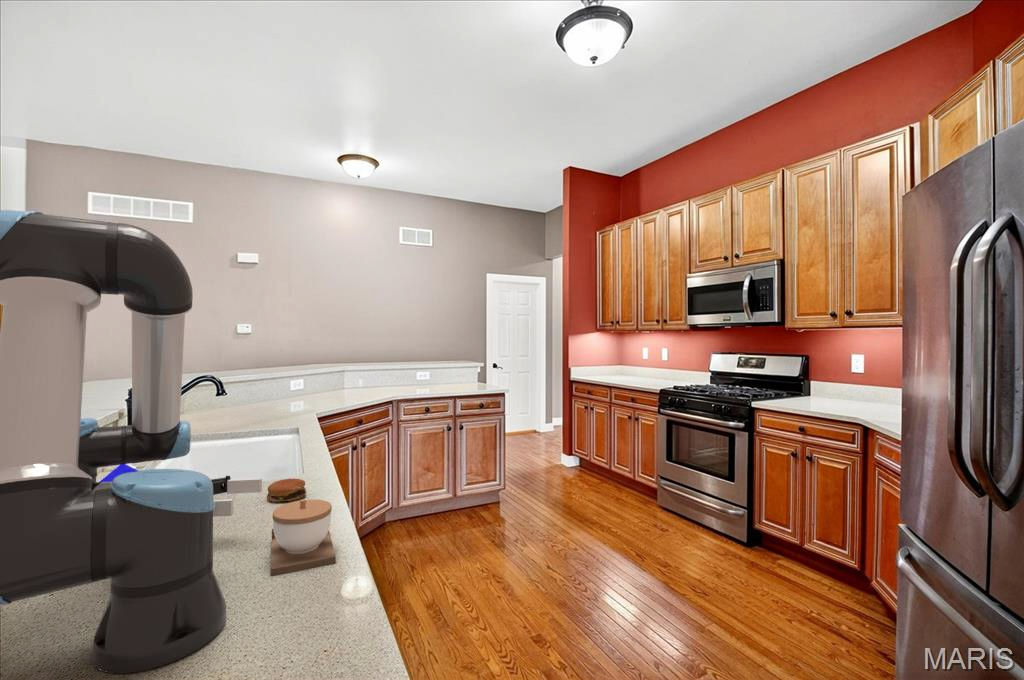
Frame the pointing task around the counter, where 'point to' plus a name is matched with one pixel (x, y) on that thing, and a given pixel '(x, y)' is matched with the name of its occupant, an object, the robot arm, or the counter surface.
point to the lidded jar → (301, 525)
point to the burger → (286, 490)
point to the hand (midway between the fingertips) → (248, 495)
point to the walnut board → (300, 557)
